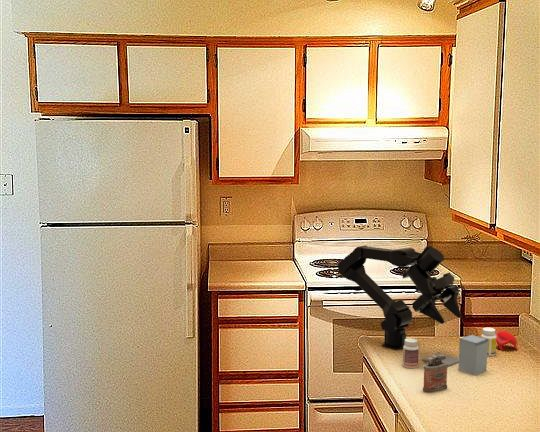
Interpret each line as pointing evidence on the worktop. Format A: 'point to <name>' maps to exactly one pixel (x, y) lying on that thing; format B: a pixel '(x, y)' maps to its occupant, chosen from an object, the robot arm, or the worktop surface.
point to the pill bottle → (410, 353)
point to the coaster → (449, 359)
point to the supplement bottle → (490, 340)
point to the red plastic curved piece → (505, 339)
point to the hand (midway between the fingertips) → (452, 320)
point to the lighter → (435, 374)
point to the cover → (473, 354)
